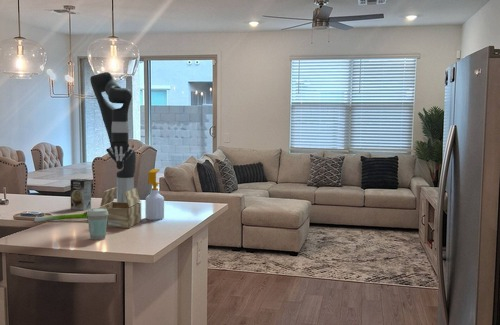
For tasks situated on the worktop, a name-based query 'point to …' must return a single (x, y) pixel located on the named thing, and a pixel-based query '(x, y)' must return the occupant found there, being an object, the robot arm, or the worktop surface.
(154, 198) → the soap bottle
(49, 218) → the celery stalk
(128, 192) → the flap
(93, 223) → the coffee cup
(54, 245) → the worktop surface
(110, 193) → the flap
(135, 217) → the wooden box
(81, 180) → the coffee box
